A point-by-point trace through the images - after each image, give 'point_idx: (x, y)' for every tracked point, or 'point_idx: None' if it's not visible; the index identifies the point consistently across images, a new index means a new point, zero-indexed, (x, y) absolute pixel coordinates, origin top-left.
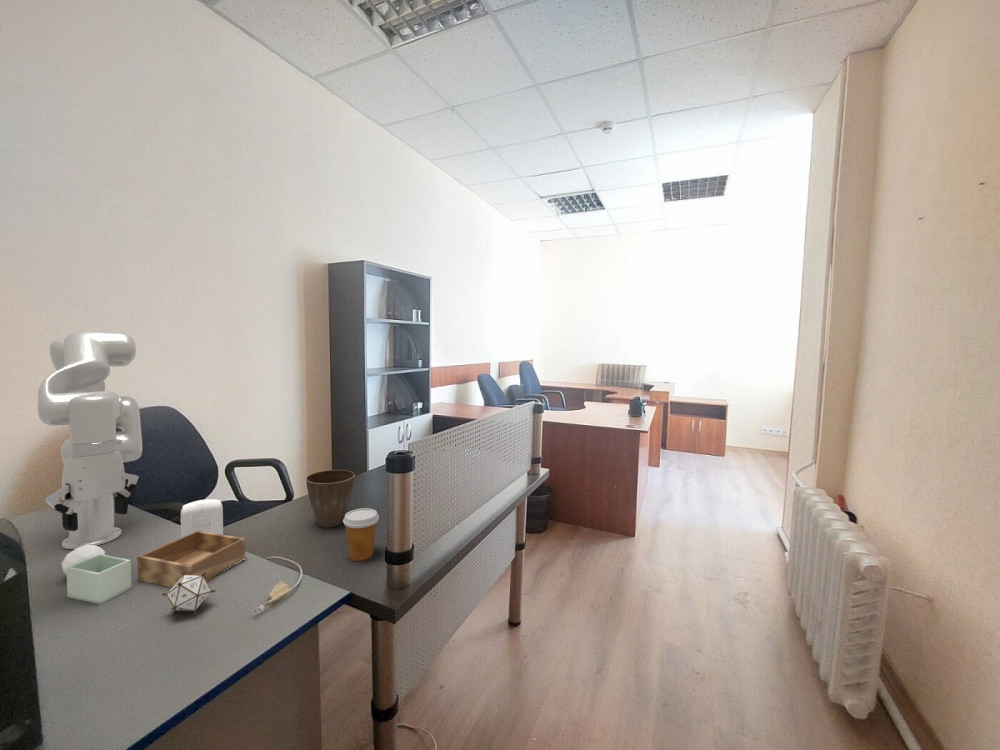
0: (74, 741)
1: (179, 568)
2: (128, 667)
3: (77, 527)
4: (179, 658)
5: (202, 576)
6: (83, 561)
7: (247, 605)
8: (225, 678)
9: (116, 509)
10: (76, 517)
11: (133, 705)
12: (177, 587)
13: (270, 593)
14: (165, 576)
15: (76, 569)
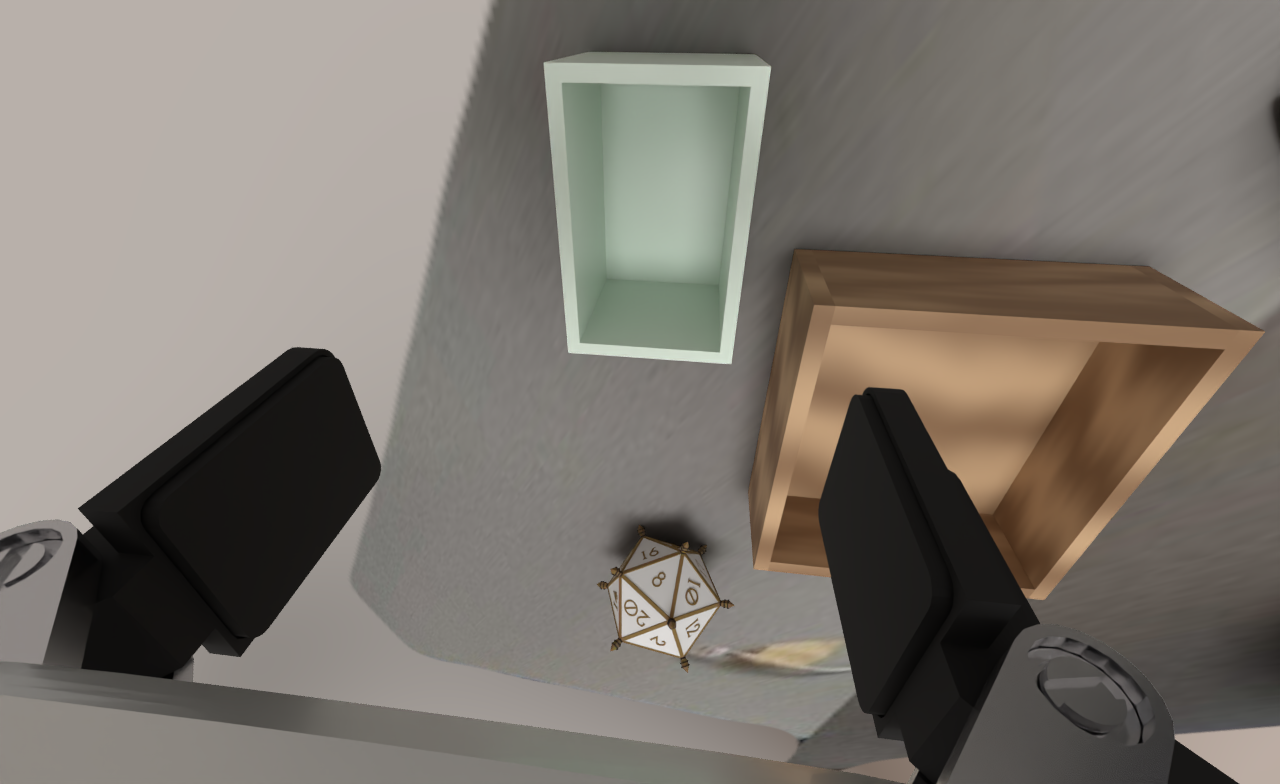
0: (368, 606)
1: (760, 523)
2: (478, 568)
3: (367, 487)
4: (535, 617)
5: (679, 657)
6: (642, 81)
7: (717, 630)
8: (536, 680)
9: (858, 455)
10: (285, 591)
11: (440, 622)
12: (619, 626)
13: (776, 645)
14: (768, 429)
15: (554, 177)
